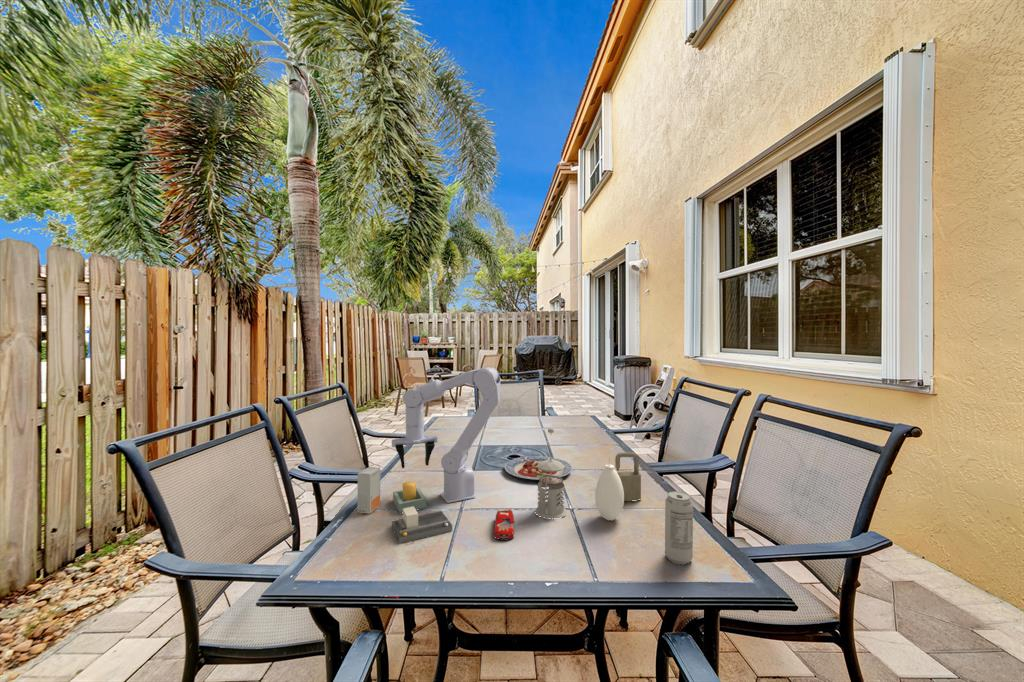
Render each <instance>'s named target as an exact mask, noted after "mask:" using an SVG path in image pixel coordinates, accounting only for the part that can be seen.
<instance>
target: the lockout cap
mask: <svg viewBox="0 0 1024 682" xmlns="http://www.w3.org/2000/svg"><path fill="white" fill-rule="evenodd" d="M416 488H417V483H416V482H415V481H406V482H403V483H402V490H403V502H405V501H410V500H415V499H416Z"/></svg>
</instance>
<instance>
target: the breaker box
mask: <svg viewBox="0 0 1024 682" xmlns="http://www.w3.org/2000/svg"><path fill="white" fill-rule="evenodd" d="M391 528H392V530H393V533H394V532H395V533H394V535H395V537H396V539H397V542H398V544H399V545H400V544H403V543H408V542H412V541H416V539H417V540H420V539H425V538H428V536H429V537H434V536H438V535H442V534H445V532H446V533H450V532H453V524H452V523H451V522H450V520H449V519H448V518H447V516H446V514H444V512H443V510H441V509H440V510H434V511H429V512H425V513H421V514H418V527H413V528H409V529H405V526H404V524H403V517H402V518H396V519H394V520H391ZM449 531H450V532H449ZM441 533H442V534H441ZM424 537H425V538H424Z"/></svg>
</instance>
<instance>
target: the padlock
mask: <svg viewBox="0 0 1024 682" xmlns="http://www.w3.org/2000/svg"><path fill="white" fill-rule="evenodd" d="M621 458H633V471H626V470H625V471H624V470H623V471H620V467H621ZM614 459H615V461H614V463H615V466H614V468H615V470H616V472H617V473H618V475H619V477H620V480H621V482H622V486H623V491H624V501H632V500H638V499H641V500H642V474H641V473H640V471H639V470H640V466H639V465H640V463H639V462H640V457H639V455H638V454H637V453H636V452H630V451H629V452H626V451H625V452H624V451H623V452H618V453H617V454H616V455H615V458H614Z"/></svg>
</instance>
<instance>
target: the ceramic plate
mask: <svg viewBox="0 0 1024 682" xmlns="http://www.w3.org/2000/svg"><path fill="white" fill-rule="evenodd" d="M545 460H555V461H559V462H560V463H562V464H563V465H564V466H565V467H564V469H563V470H561V471H557V472H546V471H542V470H540V469H539V468H538V467H537V465H538V464H539V463H541V462H542V461H545ZM503 468H504V470H505V471H506V473H508V474H510V475H511V476H514V477H517V478H520V479H527V480H533V481H534V480H535V481H536V480H537V481H539V478H540V477H542V476H543V475H544V476H546V475H552V476H558V477H561V478H563V477H565V476H567V475H569V474H570V473H571V472H572V471H573V467H572V465H571V464H570V463H569V462H567V461H565V460H563V459H560V458H558V457H557V458H556V457H552V456H542V455H541V456H540V455H538V456H536V455H535V456H533V455H531V456H524V457H523V456H522V457H516V458H514V459H511V460H509V461H507V462H506V463H505V464H504V467H503Z"/></svg>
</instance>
